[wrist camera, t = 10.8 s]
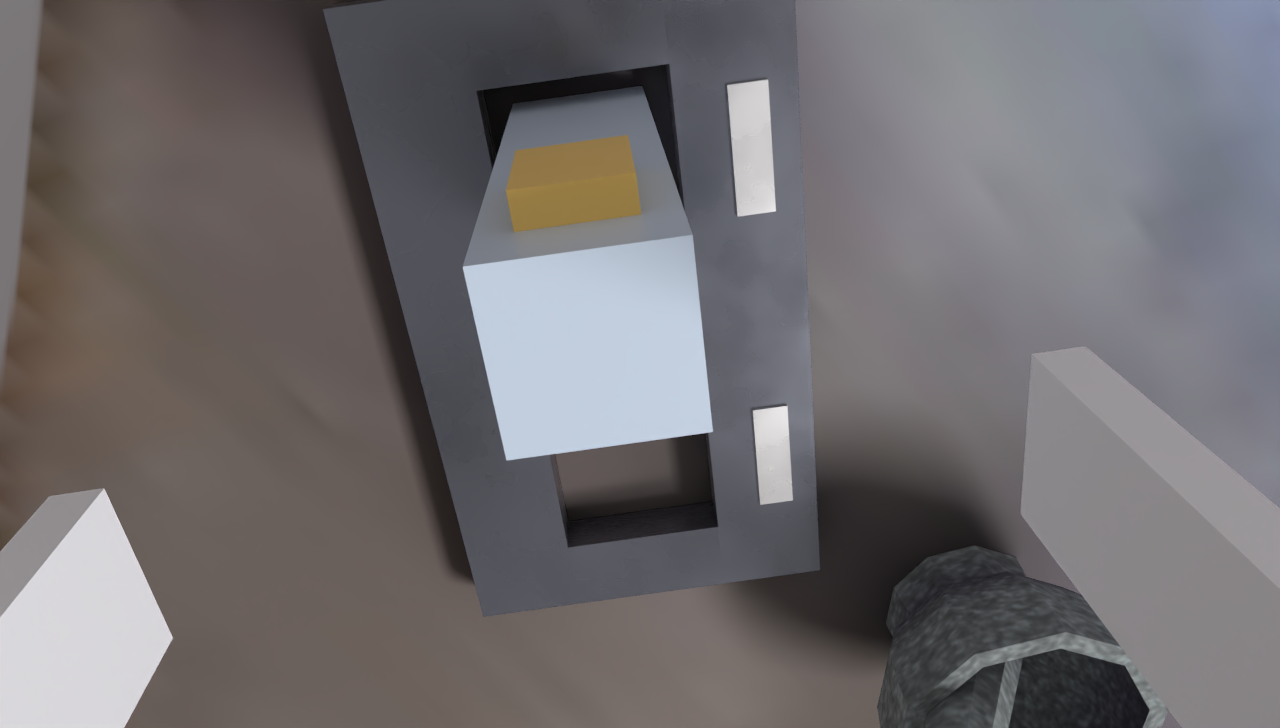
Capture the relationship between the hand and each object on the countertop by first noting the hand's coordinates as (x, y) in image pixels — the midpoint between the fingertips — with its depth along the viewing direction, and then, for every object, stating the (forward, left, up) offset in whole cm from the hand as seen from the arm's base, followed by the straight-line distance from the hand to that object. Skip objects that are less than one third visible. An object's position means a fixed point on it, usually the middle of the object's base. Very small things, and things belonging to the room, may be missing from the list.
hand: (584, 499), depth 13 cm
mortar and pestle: (+12, -20, -18) cm, 30 cm away
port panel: (0, -5, -18) cm, 19 cm away
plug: (0, 0, -18) cm, 18 cm away
